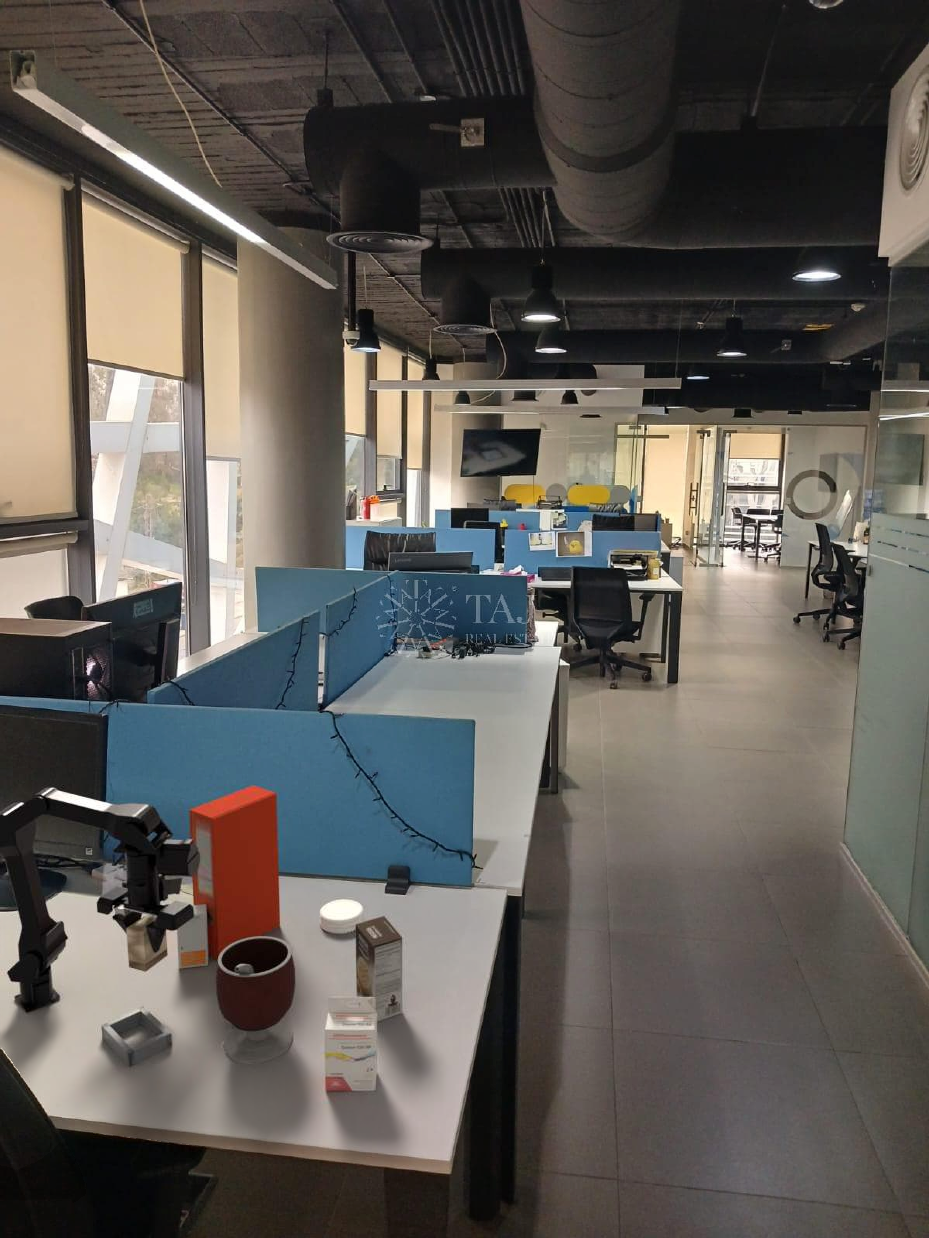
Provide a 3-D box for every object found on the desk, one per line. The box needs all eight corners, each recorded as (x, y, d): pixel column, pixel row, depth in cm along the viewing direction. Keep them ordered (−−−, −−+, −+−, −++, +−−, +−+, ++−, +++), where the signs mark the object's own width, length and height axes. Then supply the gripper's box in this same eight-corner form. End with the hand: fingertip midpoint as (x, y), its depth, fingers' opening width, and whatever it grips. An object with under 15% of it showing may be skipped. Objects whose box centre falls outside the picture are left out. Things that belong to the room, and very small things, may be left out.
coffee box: (355, 997, 172) (353, 922, 169) (384, 988, 175) (383, 914, 172) (373, 1023, 164) (372, 945, 161) (404, 1013, 167) (403, 936, 164)
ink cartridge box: (324, 1092, 146) (322, 1013, 144) (328, 1072, 151) (326, 995, 149) (376, 1091, 147) (375, 1012, 144) (378, 1071, 151) (377, 994, 149)
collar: (102, 1037, 160) (101, 1025, 159) (144, 1018, 165) (143, 1006, 165) (129, 1066, 152) (128, 1053, 152) (172, 1044, 158) (171, 1032, 157)
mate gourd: (235, 1014, 167) (231, 917, 163) (306, 1019, 165) (303, 922, 162) (202, 1069, 152) (197, 964, 148) (280, 1076, 150) (276, 970, 146)
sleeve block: (128, 967, 166) (126, 928, 164) (151, 950, 171) (148, 913, 170) (145, 971, 164) (143, 932, 163) (167, 955, 170) (165, 917, 168)
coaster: (348, 939, 194) (347, 924, 193) (311, 928, 198) (310, 914, 197) (372, 918, 203) (371, 904, 202) (336, 908, 207) (335, 894, 206)
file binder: (281, 926, 198) (276, 792, 193) (220, 960, 185) (213, 818, 179) (256, 915, 203) (251, 784, 197) (195, 948, 189) (188, 809, 183)
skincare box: (178, 970, 181) (175, 916, 179) (179, 958, 185) (176, 906, 183) (209, 965, 183) (206, 912, 181) (209, 954, 187) (206, 903, 185)
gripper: (210, 863, 168) (214, 938, 171) (134, 847, 175) (139, 919, 178) (171, 889, 158) (176, 968, 161) (91, 871, 165) (97, 947, 168)
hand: (147, 949), depth 167 cm, fingers closed on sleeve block, 4 cm apart
